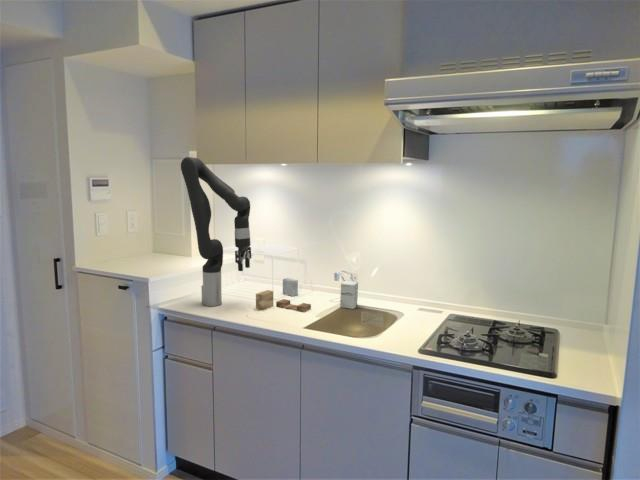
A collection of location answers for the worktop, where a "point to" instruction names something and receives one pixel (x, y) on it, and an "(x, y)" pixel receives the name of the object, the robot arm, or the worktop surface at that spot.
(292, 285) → the medicine box
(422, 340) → the worktop surface
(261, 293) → the oak crosspiece
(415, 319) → the worktop surface
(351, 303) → the supplement box
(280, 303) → the notched beam
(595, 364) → the worktop surface
